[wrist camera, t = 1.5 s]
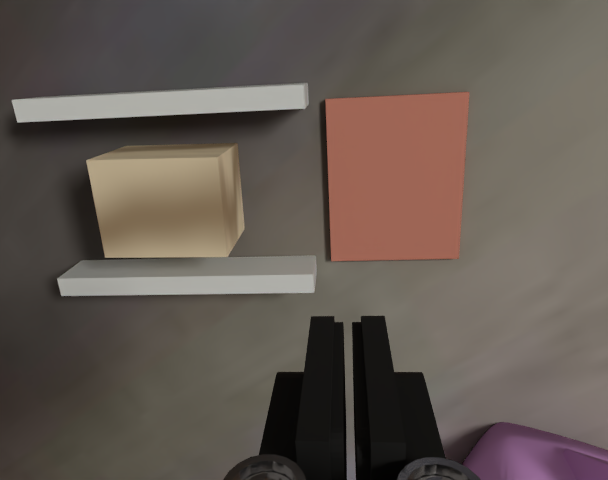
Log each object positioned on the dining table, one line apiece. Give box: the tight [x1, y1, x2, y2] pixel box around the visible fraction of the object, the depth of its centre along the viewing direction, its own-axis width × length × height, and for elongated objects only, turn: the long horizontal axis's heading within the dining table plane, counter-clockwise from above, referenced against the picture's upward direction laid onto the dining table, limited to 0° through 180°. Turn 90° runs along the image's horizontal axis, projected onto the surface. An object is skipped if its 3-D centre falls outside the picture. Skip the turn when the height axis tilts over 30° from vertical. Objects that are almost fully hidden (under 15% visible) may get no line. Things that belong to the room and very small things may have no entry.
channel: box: [12, 83, 317, 296], centre depth 28 cm, size 12×16×3 cm
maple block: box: [86, 143, 245, 258], centre depth 28 cm, size 6×7×5 cm
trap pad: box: [325, 92, 469, 261], centre depth 28 cm, size 10×8×1 cm
